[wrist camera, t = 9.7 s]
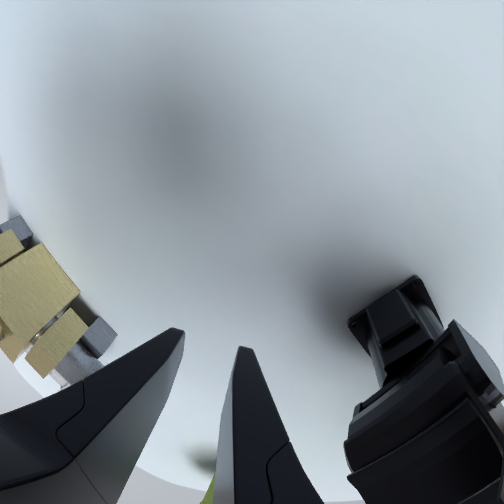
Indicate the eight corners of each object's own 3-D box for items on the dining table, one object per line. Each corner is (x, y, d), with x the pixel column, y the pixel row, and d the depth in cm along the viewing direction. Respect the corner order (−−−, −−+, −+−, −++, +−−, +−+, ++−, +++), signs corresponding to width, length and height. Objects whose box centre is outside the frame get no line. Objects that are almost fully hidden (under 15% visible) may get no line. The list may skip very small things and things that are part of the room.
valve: (125, 339, 25) (76, 411, 16) (103, 356, 26) (59, 419, 18) (20, 211, 21) (-53, 246, 12) (7, 239, 22) (-55, 277, 14)
